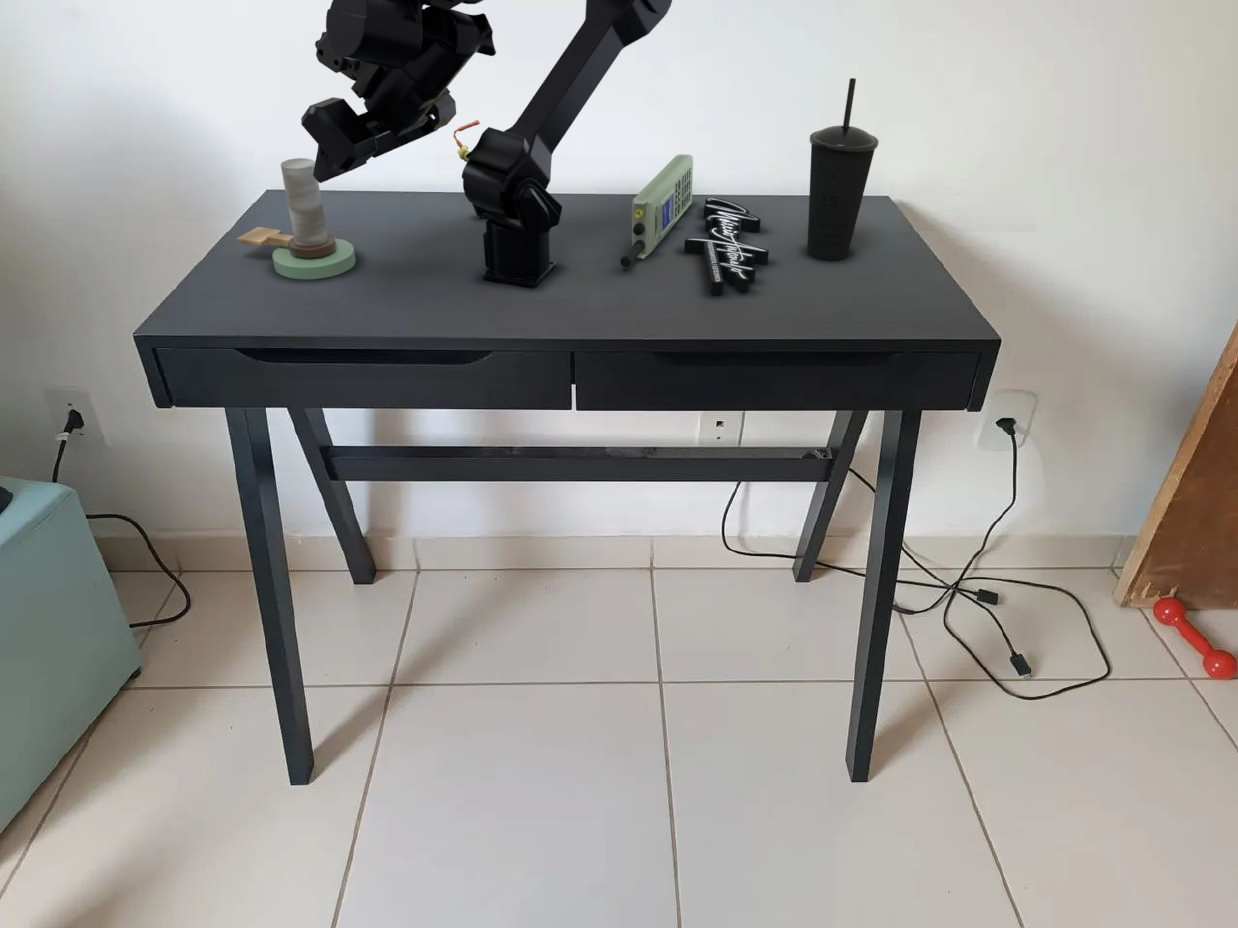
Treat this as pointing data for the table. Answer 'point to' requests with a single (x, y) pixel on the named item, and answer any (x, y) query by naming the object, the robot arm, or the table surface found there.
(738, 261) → the nameplate
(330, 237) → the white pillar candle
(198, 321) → the table surface
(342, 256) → the stand
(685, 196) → the handheld radio
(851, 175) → the drinking cup
